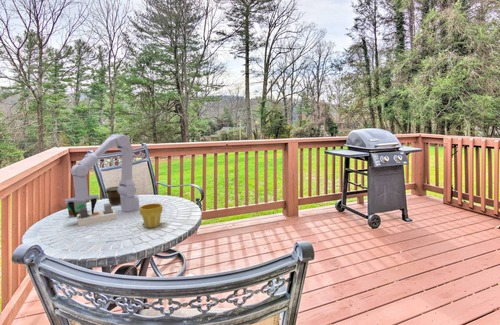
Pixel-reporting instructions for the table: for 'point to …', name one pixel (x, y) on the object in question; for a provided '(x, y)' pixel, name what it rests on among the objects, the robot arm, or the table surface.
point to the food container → (76, 208)
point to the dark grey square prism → (83, 212)
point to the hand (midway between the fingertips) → (84, 215)
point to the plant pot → (151, 214)
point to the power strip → (96, 217)
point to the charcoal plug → (107, 208)
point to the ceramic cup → (113, 195)
